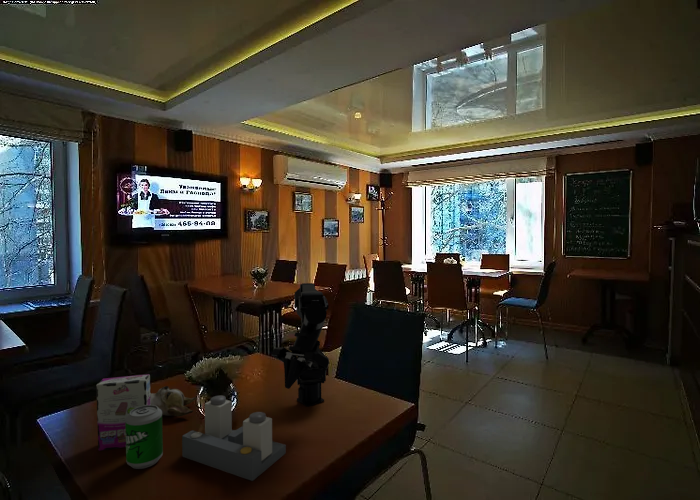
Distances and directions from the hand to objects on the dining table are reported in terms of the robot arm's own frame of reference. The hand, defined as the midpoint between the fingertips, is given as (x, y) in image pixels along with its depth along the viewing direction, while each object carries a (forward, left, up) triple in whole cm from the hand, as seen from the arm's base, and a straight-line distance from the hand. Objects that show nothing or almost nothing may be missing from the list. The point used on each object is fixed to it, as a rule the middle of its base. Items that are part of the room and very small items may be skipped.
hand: (287, 388), depth 104 cm
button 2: (+12, +9, -10) cm, 18 cm away
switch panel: (+15, +1, -12) cm, 19 cm away
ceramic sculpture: (+22, -31, -12) cm, 40 cm away
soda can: (+32, -9, -12) cm, 36 cm away
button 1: (+16, -6, -10) cm, 20 cm away
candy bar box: (+34, -21, -12) cm, 42 cm away
